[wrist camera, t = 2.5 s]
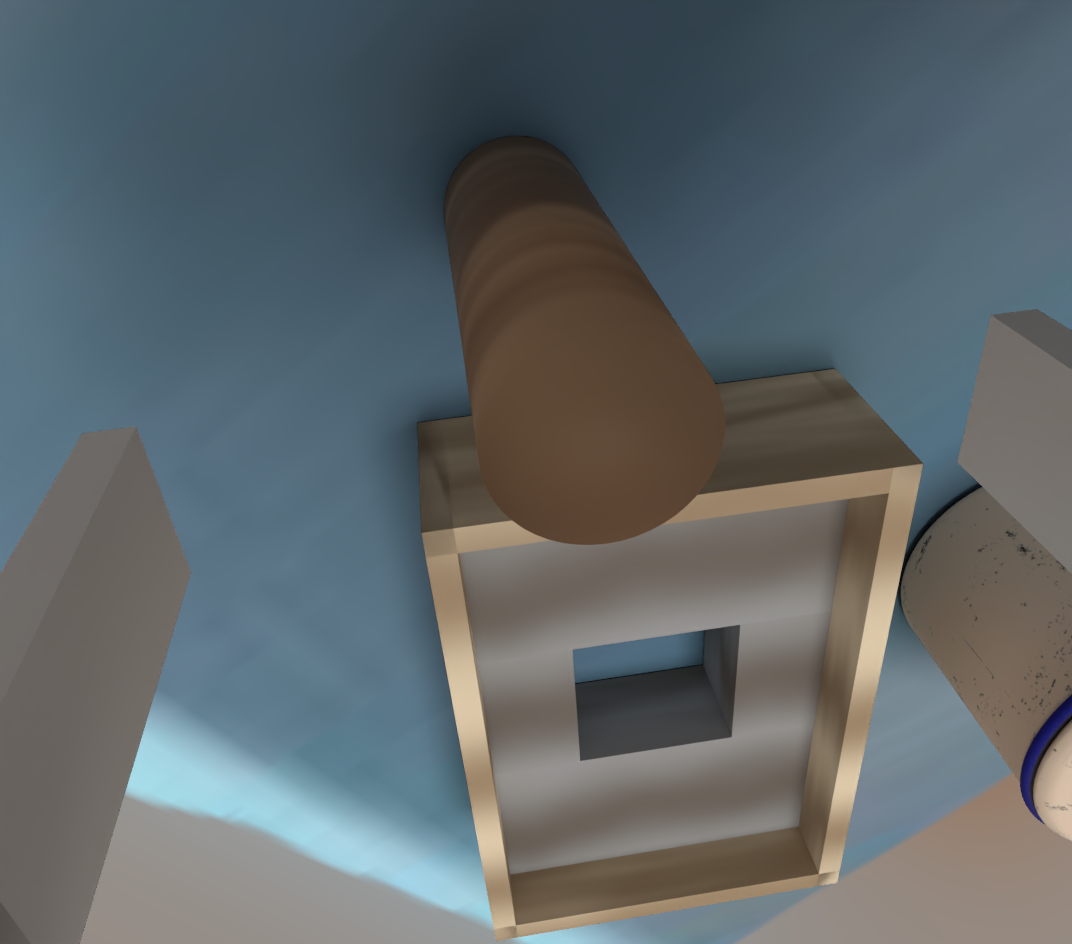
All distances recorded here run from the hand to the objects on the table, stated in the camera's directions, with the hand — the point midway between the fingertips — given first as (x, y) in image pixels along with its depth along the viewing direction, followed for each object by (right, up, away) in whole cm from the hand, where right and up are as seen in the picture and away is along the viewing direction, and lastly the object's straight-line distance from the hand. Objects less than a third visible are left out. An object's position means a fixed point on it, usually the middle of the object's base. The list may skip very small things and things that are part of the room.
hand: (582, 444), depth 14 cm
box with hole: (+3, -6, +18) cm, 19 cm away
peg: (-1, +7, +9) cm, 12 cm away
